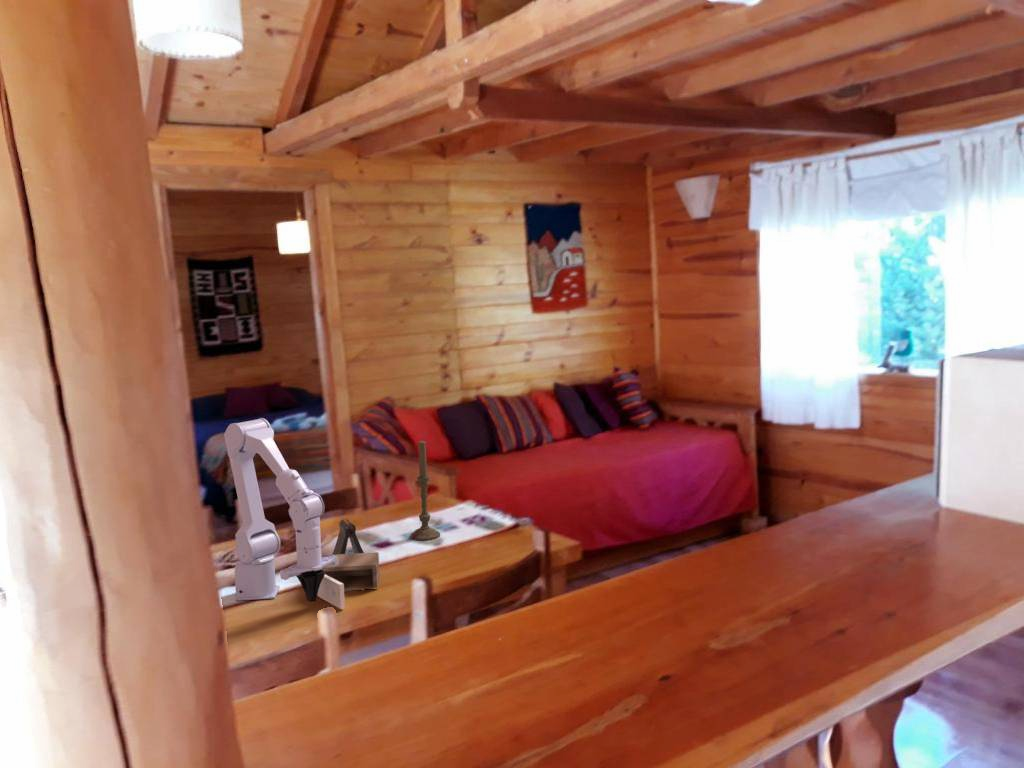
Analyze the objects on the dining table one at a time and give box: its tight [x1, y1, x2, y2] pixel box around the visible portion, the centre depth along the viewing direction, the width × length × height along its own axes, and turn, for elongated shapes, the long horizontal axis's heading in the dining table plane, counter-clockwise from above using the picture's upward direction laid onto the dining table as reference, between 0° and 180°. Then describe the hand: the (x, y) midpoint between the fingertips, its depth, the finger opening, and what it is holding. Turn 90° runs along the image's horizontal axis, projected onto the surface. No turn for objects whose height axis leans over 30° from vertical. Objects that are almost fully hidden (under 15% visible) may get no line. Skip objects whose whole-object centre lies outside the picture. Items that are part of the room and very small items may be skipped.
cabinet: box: [322, 551, 381, 592], centre depth 216 cm, size 16×10×6 cm, turn 96°
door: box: [317, 575, 346, 610], centre depth 204 cm, size 14×2×6 cm, turn 41°
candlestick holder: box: [410, 440, 441, 542], centre depth 255 cm, size 9×9×30 cm
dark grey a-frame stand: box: [332, 518, 365, 555], centre depth 232 cm, size 9×6×12 cm, turn 116°
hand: (311, 600), depth 201 cm, fingers closed
